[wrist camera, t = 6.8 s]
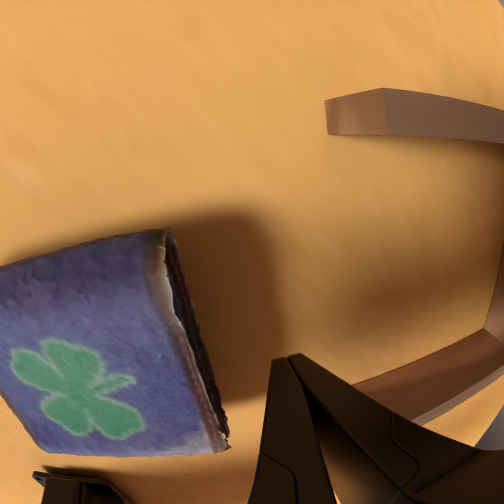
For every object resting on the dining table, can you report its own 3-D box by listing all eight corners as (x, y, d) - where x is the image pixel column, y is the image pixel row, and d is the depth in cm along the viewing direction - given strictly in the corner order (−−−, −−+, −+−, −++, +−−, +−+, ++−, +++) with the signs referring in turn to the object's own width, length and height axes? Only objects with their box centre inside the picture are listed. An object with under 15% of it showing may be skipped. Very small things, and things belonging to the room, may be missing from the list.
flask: (234, 461, 10) (25, 457, 9) (227, 408, 13) (39, 416, 12) (159, 244, 6) (-87, 300, 5) (173, 208, 9) (-49, 267, 8)
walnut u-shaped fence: (488, 336, 16) (519, 362, 13) (326, 407, 15) (352, 456, 11) (519, 125, 11) (565, 132, 8) (324, 100, 9) (382, 87, 6)
